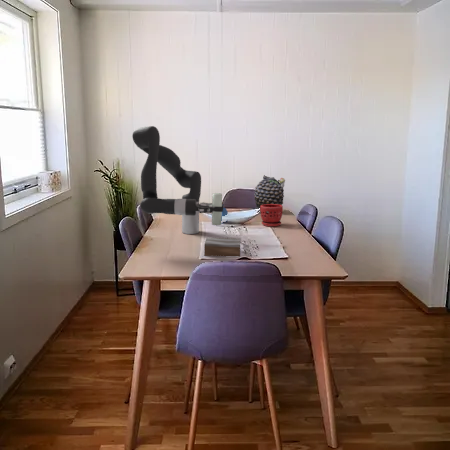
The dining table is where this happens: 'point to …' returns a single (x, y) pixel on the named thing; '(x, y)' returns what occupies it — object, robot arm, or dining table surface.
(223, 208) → the perfume bottle
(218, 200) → the pale green cylinder
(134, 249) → the dining table surface
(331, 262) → the dining table surface
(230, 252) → the stand
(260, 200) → the round potted cactus
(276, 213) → the plant pot
